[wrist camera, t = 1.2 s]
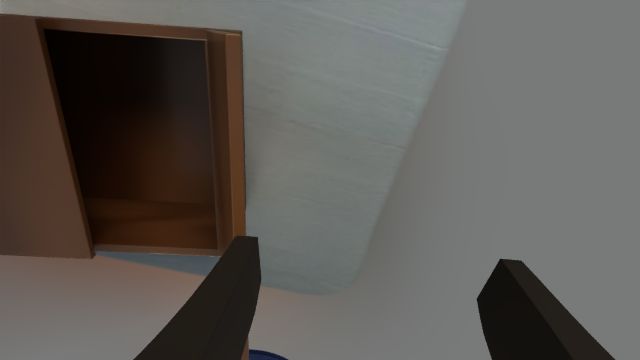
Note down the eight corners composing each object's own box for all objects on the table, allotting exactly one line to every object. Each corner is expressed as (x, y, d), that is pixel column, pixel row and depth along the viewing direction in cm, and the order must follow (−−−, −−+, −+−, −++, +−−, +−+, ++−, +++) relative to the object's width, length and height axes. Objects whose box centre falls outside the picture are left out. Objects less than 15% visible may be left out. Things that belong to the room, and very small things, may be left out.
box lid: (206, 29, 14) (215, 30, 14) (220, 264, 19) (227, 263, 19) (224, 32, 8) (241, 33, 8) (238, 372, 13) (249, 369, 13)
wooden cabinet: (242, 30, 20) (209, 28, 14) (246, 208, 25) (222, 266, 19) (0, 13, 20) (-145, 3, 14) (51, 198, 24) (-40, 254, 18)
